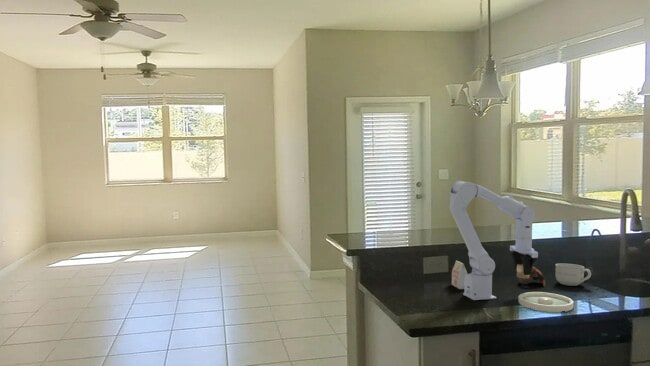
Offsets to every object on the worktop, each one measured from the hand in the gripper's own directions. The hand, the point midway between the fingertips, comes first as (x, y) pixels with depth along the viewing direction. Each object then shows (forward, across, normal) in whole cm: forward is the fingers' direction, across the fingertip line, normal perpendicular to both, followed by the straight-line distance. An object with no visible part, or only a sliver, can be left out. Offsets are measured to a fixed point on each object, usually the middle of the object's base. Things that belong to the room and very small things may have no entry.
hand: (523, 273), depth 196 cm
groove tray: (+8, -12, -1) cm, 15 cm away
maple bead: (+1, 0, 0) cm, 1 cm away
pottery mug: (+9, +14, -15) cm, 22 cm away
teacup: (+9, +9, -29) cm, 32 cm away
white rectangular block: (+9, +17, +17) cm, 26 cm away
